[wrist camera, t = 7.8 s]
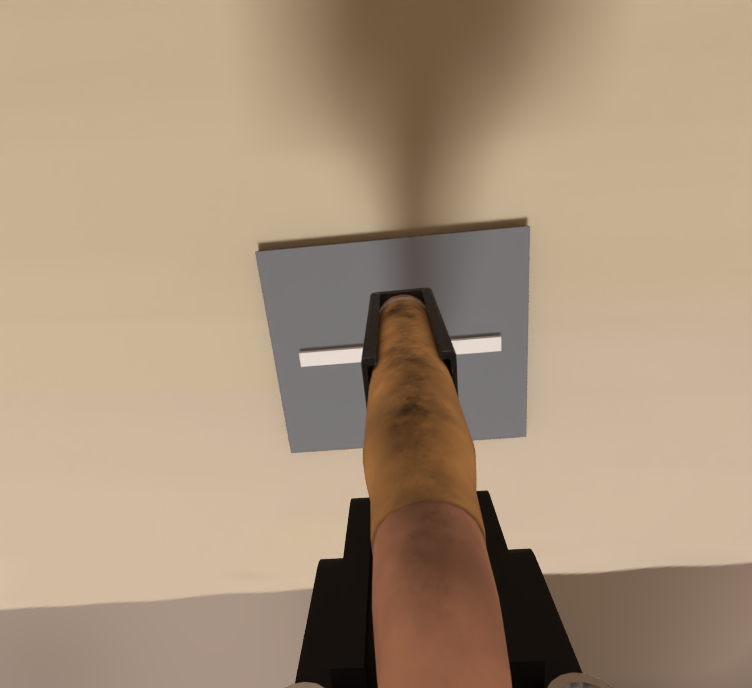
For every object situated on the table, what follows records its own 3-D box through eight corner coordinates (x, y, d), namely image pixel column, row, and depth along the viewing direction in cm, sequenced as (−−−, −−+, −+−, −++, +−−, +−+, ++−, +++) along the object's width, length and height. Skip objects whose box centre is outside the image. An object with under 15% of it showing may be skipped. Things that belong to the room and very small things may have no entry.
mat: (526, 225, 22) (531, 226, 21) (523, 431, 26) (527, 439, 25) (258, 250, 23) (253, 252, 22) (293, 447, 27) (290, 455, 26)
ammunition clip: (449, 565, 16) (583, 1398, 5) (400, 567, 16) (423, 1389, 5) (431, 286, 13) (721, 910, 2) (370, 292, 13) (241, 914, 2)
